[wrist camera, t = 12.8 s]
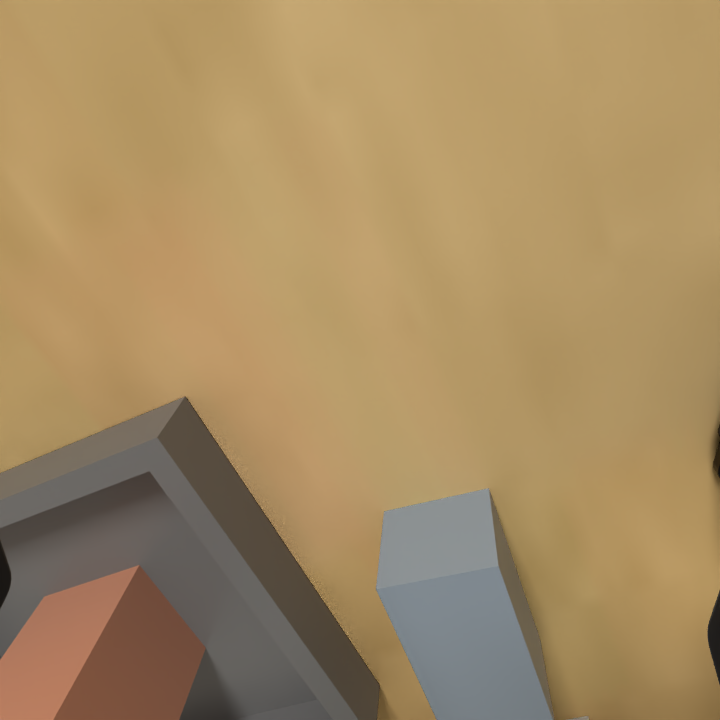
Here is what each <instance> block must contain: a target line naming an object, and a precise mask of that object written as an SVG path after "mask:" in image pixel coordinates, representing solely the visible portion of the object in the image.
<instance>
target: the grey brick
mask: <svg viewBox="0 0 720 720" xmlns="http://www.w3.org/2000/svg"><path fill="white" fill-rule="evenodd" d="M568 720H590V719H589V717H588V716H584V717H579V718H573V719H568Z"/></svg>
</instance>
